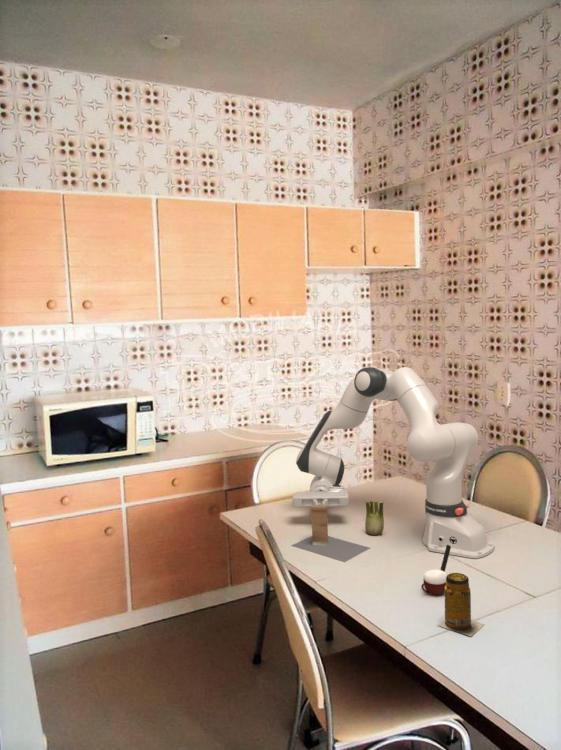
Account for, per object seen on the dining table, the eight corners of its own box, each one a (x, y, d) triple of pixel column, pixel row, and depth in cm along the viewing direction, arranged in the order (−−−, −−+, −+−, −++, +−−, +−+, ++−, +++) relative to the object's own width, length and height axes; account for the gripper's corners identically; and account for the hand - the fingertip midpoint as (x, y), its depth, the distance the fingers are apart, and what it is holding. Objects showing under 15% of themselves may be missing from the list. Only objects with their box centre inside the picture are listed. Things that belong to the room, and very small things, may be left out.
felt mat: (370, 549, 194) (370, 547, 194) (344, 563, 184) (344, 562, 184) (318, 534, 209) (317, 533, 209) (291, 546, 199) (291, 545, 199)
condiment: (452, 614, 151) (451, 568, 150) (484, 625, 145) (484, 577, 144) (437, 626, 146) (436, 578, 144) (470, 637, 140) (470, 588, 139)
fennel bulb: (385, 534, 206) (384, 500, 205) (378, 539, 203) (377, 504, 201) (370, 531, 210) (369, 497, 209) (363, 535, 206) (362, 501, 205)
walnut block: (313, 539, 203) (311, 505, 202) (328, 539, 203) (326, 504, 202) (312, 545, 198) (311, 509, 197) (327, 545, 198) (326, 509, 197)
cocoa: (423, 599, 160) (421, 557, 158) (417, 588, 166) (414, 547, 164) (458, 596, 160) (456, 553, 159) (451, 584, 166) (448, 543, 165)
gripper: (292, 486, 224) (290, 497, 210) (348, 485, 222) (349, 496, 209) (293, 503, 225) (290, 515, 211) (348, 502, 223) (349, 514, 209)
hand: (320, 506), depth 210 cm, fingers closed
